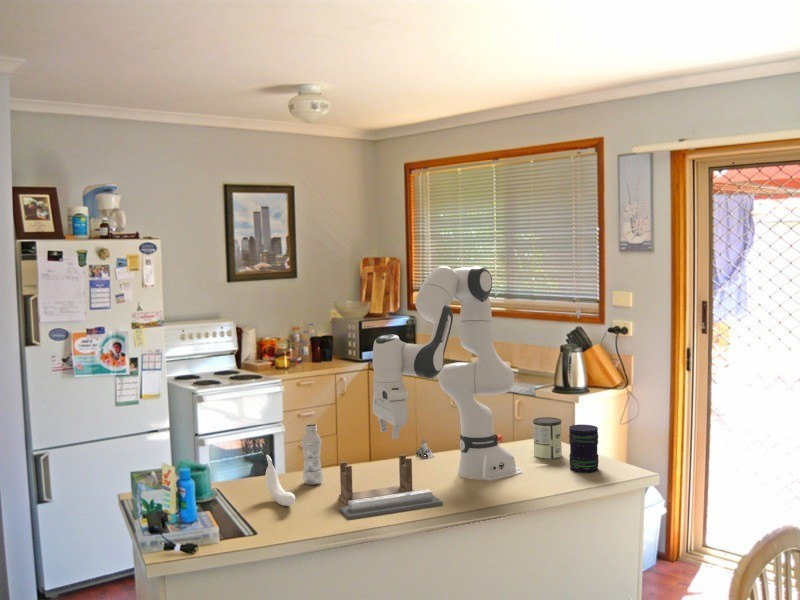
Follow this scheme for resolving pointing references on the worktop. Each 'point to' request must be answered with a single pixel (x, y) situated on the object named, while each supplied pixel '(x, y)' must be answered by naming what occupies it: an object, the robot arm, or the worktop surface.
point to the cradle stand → (348, 495)
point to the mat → (389, 508)
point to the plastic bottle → (312, 456)
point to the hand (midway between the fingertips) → (389, 435)
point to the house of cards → (424, 451)
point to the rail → (389, 500)
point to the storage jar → (583, 448)
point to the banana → (277, 486)
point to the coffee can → (547, 438)
